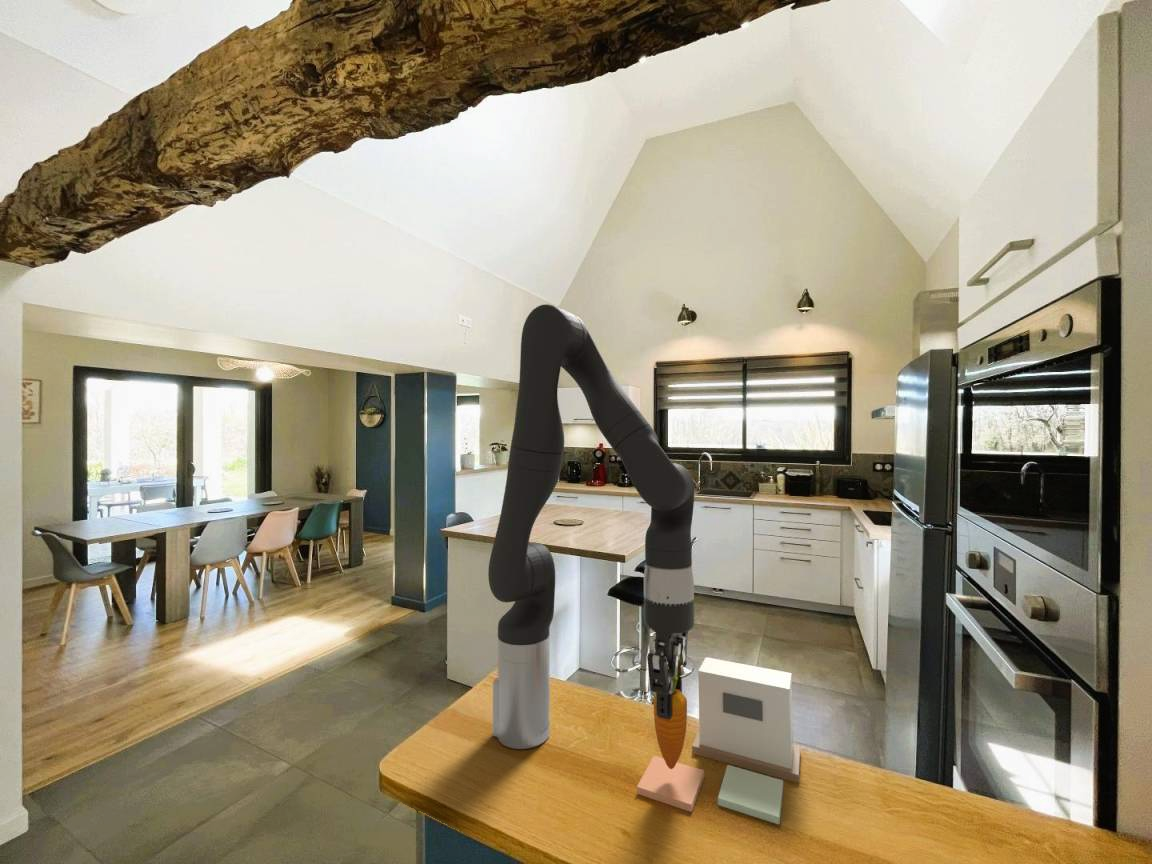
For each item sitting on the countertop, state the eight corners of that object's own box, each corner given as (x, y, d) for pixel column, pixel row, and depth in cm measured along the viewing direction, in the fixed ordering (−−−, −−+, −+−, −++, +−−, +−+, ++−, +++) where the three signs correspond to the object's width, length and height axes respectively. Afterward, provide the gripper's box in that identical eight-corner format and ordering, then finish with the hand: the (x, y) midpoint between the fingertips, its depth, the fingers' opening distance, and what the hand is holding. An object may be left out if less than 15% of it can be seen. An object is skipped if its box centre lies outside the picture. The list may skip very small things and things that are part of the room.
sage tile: (717, 805, 67) (717, 797, 67) (727, 771, 74) (727, 764, 74) (779, 824, 64) (779, 817, 64) (783, 787, 71) (783, 780, 71)
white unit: (692, 753, 79) (691, 672, 79) (702, 728, 86) (701, 653, 87) (798, 783, 72) (796, 693, 72) (800, 753, 79) (798, 671, 79)
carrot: (688, 782, 69) (687, 675, 69) (653, 777, 70) (652, 672, 70) (687, 760, 73) (686, 661, 74) (654, 756, 74) (653, 658, 75)
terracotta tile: (637, 793, 70) (636, 786, 70) (653, 762, 77) (653, 755, 77) (691, 812, 66) (691, 804, 66) (704, 777, 73) (704, 770, 73)
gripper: (680, 611, 65) (682, 740, 64) (703, 585, 77) (705, 692, 77) (628, 603, 68) (629, 726, 67) (658, 580, 81) (659, 682, 80)
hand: (669, 707), depth 72 cm, fingers closed on carrot, 4 cm apart
